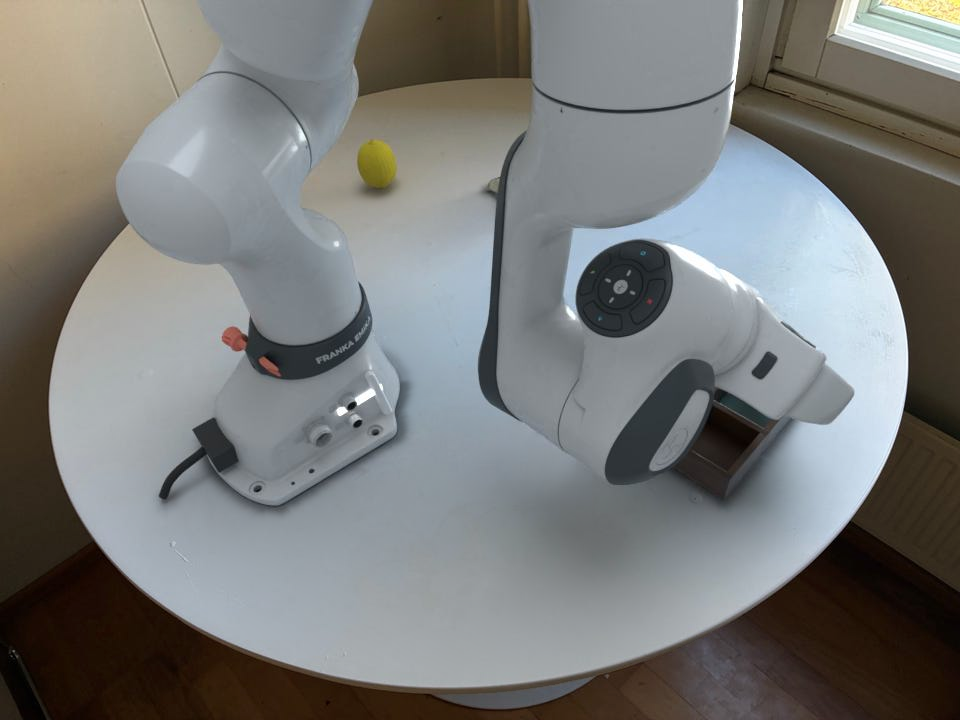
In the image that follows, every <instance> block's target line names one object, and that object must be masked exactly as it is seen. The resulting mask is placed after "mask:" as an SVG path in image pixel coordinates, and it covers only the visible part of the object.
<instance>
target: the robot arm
mask: <svg viewBox="0 0 960 720" xmlns="http://www.w3.org/2000/svg"><path fill="white" fill-rule="evenodd" d="M197 2H198V6H199V10H200V12H201V15H202V17H203V19H204V21H205V23H206V24H207V25H208V27H209V28H210V30H211V31H212V32H213V33H214V35H215V36H216V37H217V38H218V40H219V41H220V42H221V43H220V47H219V50H218V51H217V53H216V55H215V57H214V59H213V60H212V61H211V63H210V65H209V67H207V69H206V70H205V72H204V73H203V75H202V76H200V77H199V78H198V79H197V81H196V82H195V83H193V84H192V85H191V87H189V88H188V89H186V91H184V93H182V95H180V96H179V97H178V98H177V99H176V100H175V101H174V102H172V104H170V105H169V106H168V107H167V108H166V109H164V110H163V111H162V112H161V113H160V114H159V115H158V116H157V117H156V118H154V119H153V120H152V121H151V122H150V123H149V124H148V125H147V126H146V127H145V128H144V130H143V132H142V133H141V134H140V136H139V138H138V139H137V141H136V142H135V144H134V145H133V146H132V148H131V149H130V151H129V153H128V155H127V157H125V159H124V161H123V163H122V165H121V167H120V168H119V170H118V172H117V174H116V177H115V190H116V194H117V198H118V203H119V205H120V208H121V211H122V213H123V215H124V217H125V219H126V220H127V222H128V223H129V225H130V226H131V228H132V230H134V232H135V233H136V234H137V235H138V236H139V237H140V238H141V239H142V240H143V241H144V242H145V243H146V244H147V245H149V246H150V247H151V248H153V249H154V250H156V251H157V252H159V253H161V254H162V255H163V256H164V255H165V256H167V257H168V258H171V259H173V260H175V261H179V262H181V263H182V262H183V263H186V264H191V265H199V266H200V265H201V266H211V265H219V266H221V267H222V268H223V269H224V270H226V272H227V273H228V274H229V275H230V277H231V279H232V281H233V283H234V284H235V286H236V288H237V290H238V292H239V295H240V296H241V299H242V301H243V303H244V305H245V307H246V309H247V311H248V314H249V319H248V330H247V334H246V333H243V332H242V331H241V329H240V328H238V327H237V326H228V327H227V328H226V329H225V330H223V332H222V336H221V339H222V340H221V342H222V343H223V344H225V345H226V346H227V347H230V349H231V350H232V351H234V352H241V351H243V352H244V354H243V355H242V357H241V358H240V360H239V361H238V363H237V365H236V366H235V368H234V369H233V371H232V373H231V374H230V375H229V377H228V378H227V380H226V381H225V383H224V385H223V386H222V387H221V389H220V390H219V392H218V394H217V395H216V397H215V400H214V406H213V411H214V416H212V417H211V418H210V419H208V420H206V421H205V422H203V423H201V424H199V425H197V426H195V427H194V428H192V429H191V430H192V432H193V434H194V436H195V437H196V440H197V441H198V442H199V444H200V446H201V447H200V448H198V449H197V450H196V451H195V452H193V453H192V454H191V455H189V456H188V457H186V458H185V459H183V461H181V462H180V463H179V464H178V465H176V466H175V467H174V468H173V469H172V470H171V471H170V473H168V475H167V476H166V477H165V480H164V481H163V483H162V485H161V487H160V491H159V494H158V497H159V499H161V500H167V499H168V497H169V495H170V492H171V490H172V487H173V485H174V484H175V483H176V481H177V480H178V479H179V478H180V477H181V476H182V475H183V474H184V473H185V472H186V471H188V470H189V469H190V468H191V467H192V466H193V465H195V464H196V463H198V462H199V461H200V460H201V459H203V458H204V457H205V456H207V459H208V461H209V463H210V464H211V466H212V467H213V469H214V471H215V472H216V473H217V475H218V476H219V477H220V478H221V479H222V480H223V481H224V482H225V484H227V485H229V486H230V487H231V488H232V489H233V490H234V491H235V492H238V493H239V494H240V495H241V496H243V497H244V498H246V499H248V500H250V501H253V502H255V503H257V504H261V505H265V506H273V507H277V506H281V505H283V504H285V503H287V502H289V501H290V500H292V499H294V498H295V497H296V496H299V495H300V494H302V493H303V492H305V491H307V490H308V489H310V488H312V487H313V486H315V485H317V484H318V483H320V482H322V481H323V480H325V479H327V478H328V477H330V476H332V475H334V474H335V473H337V472H338V471H340V470H342V469H343V468H345V467H347V466H348V465H350V464H351V463H353V462H355V461H357V460H358V459H360V458H361V457H363V456H365V455H366V454H368V453H370V452H372V451H374V450H375V449H376V448H378V447H380V446H382V445H383V444H385V443H387V442H388V441H390V440H391V439H393V438H394V437H395V436H396V434H397V431H398V422H397V418H396V407H397V404H398V401H399V397H400V391H401V385H400V378H399V375H398V372H397V370H396V368H395V367H394V365H393V364H392V363H391V362H390V360H389V359H388V358H387V356H386V355H385V353H384V351H383V350H382V348H381V345H380V344H379V341H378V339H377V337H376V335H375V333H374V329H373V315H372V314H373V313H372V311H371V308H370V303H369V299H368V297H367V294H366V291H365V288H364V287H363V285H362V283H361V282H360V281H359V280H358V274H357V272H356V268H355V263H354V259H353V256H352V253H351V250H350V249H351V248H350V246H349V241H348V238H347V235H346V234H345V231H344V230H343V229H342V227H341V226H340V225H339V224H338V223H336V222H335V221H334V220H332V218H330V217H328V216H327V215H325V214H322V212H319V211H317V210H314V209H310V208H306V207H303V206H302V201H301V196H302V190H303V185H304V182H305V181H306V179H307V178H308V177H309V176H310V175H311V173H313V171H314V170H315V169H316V168H317V166H318V165H319V164H320V163H321V161H322V160H323V159H324V158H325V156H326V155H327V154H328V153H329V151H330V150H331V149H332V148H333V147H334V146H335V144H336V143H337V142H338V141H339V139H340V137H341V135H342V133H343V132H344V129H345V127H346V126H347V123H348V121H349V119H350V117H351V115H352V112H353V109H354V107H355V106H356V105H355V104H356V102H357V100H358V97H359V89H360V88H359V87H360V86H359V77H358V71H357V68H356V66H355V64H354V62H355V57H356V52H357V49H358V45H359V42H360V39H361V36H362V33H363V31H364V27H365V24H366V23H367V19H368V16H369V13H370V11H371V8H372V6H373V3H374V0H197ZM526 2H527V6H528V16H529V26H530V62H531V64H530V69H531V70H530V71H531V104H530V105H531V106H530V115H529V119H528V125H527V129H526V130H525V131H523V132H522V133H520V134H519V136H517V137H516V139H515V140H514V141H513V142H512V144H511V146H510V147H509V149H508V150H507V153H506V155H505V158H504V161H503V164H502V167H501V170H500V171H501V172H500V176H499V177H500V180H499V186H498V193H496V203H495V213H494V227H493V229H494V230H493V242H492V243H493V245H492V260H491V276H490V293H489V307H488V314H487V315H488V316H487V322H486V327H485V329H484V334H483V337H482V339H481V343H480V347H479V351H478V358H477V375H478V383H479V388H480V391H481V393H482V395H483V397H484V398H485V400H486V401H487V402H488V403H489V404H490V405H491V406H493V407H495V408H497V409H498V410H500V411H501V412H503V413H505V414H507V416H510V417H512V418H513V419H515V420H517V421H519V422H521V423H523V424H525V425H526V426H528V427H529V428H530V429H532V430H533V431H535V432H536V433H537V434H539V435H540V436H541V437H543V438H544V439H545V440H547V441H548V442H550V443H551V444H553V445H554V446H555V447H557V448H558V449H559V450H561V451H562V452H564V453H565V454H567V455H569V456H571V458H574V460H577V461H578V462H579V463H581V464H582V465H583V466H584V467H586V468H587V469H589V470H590V471H592V472H593V473H594V474H596V475H598V476H599V477H601V478H602V479H603V480H605V481H606V482H608V483H609V484H610V485H612V486H620V487H621V486H631V485H636V484H640V483H643V482H646V481H649V480H651V479H654V478H656V477H657V476H660V475H662V474H665V473H666V472H668V471H670V470H672V469H674V468H673V467H674V466H675V465H677V464H678V463H679V462H680V461H681V460H682V459H683V458H684V457H685V456H686V454H687V453H688V452H689V450H690V449H691V448H692V446H693V445H694V443H695V442H696V440H697V438H698V437H699V435H700V433H701V431H702V429H703V427H704V425H705V423H706V421H707V418H708V416H709V413H710V410H711V407H712V404H713V400H714V387H717V388H720V389H722V390H724V391H726V392H727V393H728V394H730V395H732V396H733V397H735V398H737V399H739V400H740V401H742V402H744V403H745V404H747V405H748V406H750V407H751V408H753V409H754V410H756V411H758V412H760V413H762V414H763V415H765V416H766V417H768V418H771V419H775V420H778V419H780V418H781V417H782V416H783V415H786V416H788V417H790V418H791V419H793V420H795V421H798V422H802V423H806V424H810V425H811V424H812V425H818V426H828V425H830V424H832V423H833V422H834V421H836V420H837V418H838V417H839V416H840V415H841V414H842V413H843V411H844V410H845V409H846V407H847V406H848V405H849V404H850V403H851V401H852V400H853V398H854V396H855V389H854V388H853V386H852V385H850V383H849V382H848V381H847V380H845V379H844V378H843V377H842V376H841V375H840V374H839V373H837V371H835V370H834V369H833V368H832V367H830V366H829V364H827V363H826V361H827V358H828V357H827V355H826V353H824V352H823V351H821V350H820V349H818V348H817V346H816V345H815V344H813V343H812V342H811V341H810V340H808V339H807V338H805V337H804V336H802V334H800V332H798V331H797V330H796V329H794V328H793V327H792V326H791V325H790V324H789V323H787V322H786V321H785V320H784V318H782V316H781V315H780V314H779V313H778V312H777V311H776V309H775V308H774V307H773V306H772V304H770V302H768V301H767V300H766V298H765V297H764V296H763V294H762V293H760V291H759V290H758V289H756V288H755V287H754V286H752V285H750V284H749V283H748V282H745V281H744V280H742V279H740V278H739V277H738V276H736V275H734V274H732V273H730V272H729V271H727V270H725V269H723V268H719V267H718V266H716V265H715V264H714V263H713V262H712V261H710V260H709V259H707V258H705V257H703V256H701V255H700V254H698V253H696V252H694V251H692V250H690V249H688V248H687V247H684V246H682V245H679V244H676V243H673V242H671V241H667V240H662V239H656V238H631V239H629V240H625V241H621V242H617V243H615V244H612V245H611V246H609V247H607V248H605V249H604V250H601V251H600V252H599V253H597V255H595V256H594V257H593V258H592V259H591V260H590V261H589V263H588V264H587V265H586V266H585V268H584V269H583V271H582V273H581V275H580V277H579V279H578V282H577V285H576V290H575V297H574V299H575V309H576V312H575V311H574V310H573V309H572V308H571V307H570V304H568V302H567V301H566V298H565V286H566V279H567V273H568V268H569V260H570V253H571V247H572V241H573V234H574V229H589V230H590V229H591V230H593V229H594V230H607V229H608V230H609V229H617V228H622V227H629V226H633V225H635V224H636V225H637V224H640V223H643V222H645V221H649V220H652V219H654V218H656V217H659V216H661V215H664V214H665V213H668V212H670V211H671V210H673V209H674V208H676V207H678V206H680V205H681V204H682V203H684V202H686V201H687V200H688V199H690V197H692V196H693V195H694V194H695V193H696V192H697V191H699V189H700V188H701V187H702V186H703V185H704V184H705V183H706V181H707V180H708V179H709V177H710V176H711V174H713V172H714V171H715V169H716V167H717V165H718V162H719V160H720V158H721V155H722V152H723V150H724V147H725V143H726V141H727V136H728V132H729V129H730V124H731V118H732V112H733V111H732V110H733V103H734V96H735V95H734V94H735V86H736V80H737V72H738V63H739V54H740V45H741V33H742V20H743V19H742V18H743V16H742V14H743V0H526ZM375 434H376V435H375ZM258 490H260V491H258ZM257 491H258V492H257Z"/></svg>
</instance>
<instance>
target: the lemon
mask: <svg viewBox="0 0 960 720" xmlns="http://www.w3.org/2000/svg"><path fill="white" fill-rule="evenodd" d="M356 163H357V164H356V165H357V169H358V174H359V175H360V177H361V179H362V180H363V182H365V183H366V184H367V185H368V186H370V187H373V188H377V189H383V188H385V187H387V186H388V185H390V184H391V183H392V182H393V180H394V179H395V177H396V173H397V160H396V157H395V155H394V152H393V150H392V148H391V147H390V146H389V145H388V144H387V143H386V142H385V141H383V140H380V139H369V140H367V141H365V142H364V143H363V144H362V145H361V146H360V148H359V150H358V151H357V158H356Z"/></svg>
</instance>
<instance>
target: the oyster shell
mask: <svg viewBox="0 0 960 720" xmlns="http://www.w3.org/2000/svg"><path fill="white" fill-rule="evenodd" d="M499 180H500V176H497V177H494V178H492V179H491V180H489V181H488V182H487V185H486V191H488V192H489V191H490V192H493V193H495V194H497V193H498V186H499Z"/></svg>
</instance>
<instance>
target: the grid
mask: <svg viewBox="0 0 960 720" xmlns="http://www.w3.org/2000/svg"><path fill="white" fill-rule="evenodd" d="M791 419H792V418H790V417H788V416H786V415H783V416H782V417H781V418H780V419H778V420H775V419H771V418H768V417H766V416H765V415H763V414H762V413H760V412H758V411H756V410H754V409H753V408H751V407H750V406H748V405H747V404H745V403H744V402H742V401H740V400H739V399H737V398H735V397H733V396H732V395H730V394H728V393H727V392H726V391H724V390H722V389H720V388H717V387H714V400H713V404H712V407H711V410H710V413H709V416H708V418H707V421H706V423H705V425H704V427H703V429H702V431H701V433H700V435H699V437H698V438H697V440H696V442H695V443H694V445H693V446H692V448H691V449H690V450H689V452H688V453H687V454H686V456H685V457H684V458H683V459H682V460H681V461H680V462H679V463H678V464H677V465H675V466H674V467H673V468H672V469H674V470H675V471H677V472H678V473H680V474H681V475H683V476H684V477H686V478H688V479H689V480H691V482H692V481H693V482H694V483H695V484H697V485H698V486H700V487H702V488H704V489H705V490H707V491H708V492H710V493H711V494H713V495H715V496H716V497H718V498H719V499H721V500H722V501H725V499H726V498H727V497H728V496H729V495H730V493H732V491H733V489H734V488H735V487H736V486H737V485H738V484H739V482H741V480H742V478H744V476H746V474H747V473H748V472H749V470H750V469H751V468H752V467H753V466H754V464H755V463H756V462H757V460H758V459H759V458H760V457H761V455H762V454H763V453H765V451H766V449H767V448H768V447H769V446H770V444H771V443H772V442H773V441H774V440H775V439H776V437H777V436H778V435H779V434H780V432H781V431H782V430H783V429H784V427H786V425H787V424H788V422H790V420H791Z"/></svg>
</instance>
